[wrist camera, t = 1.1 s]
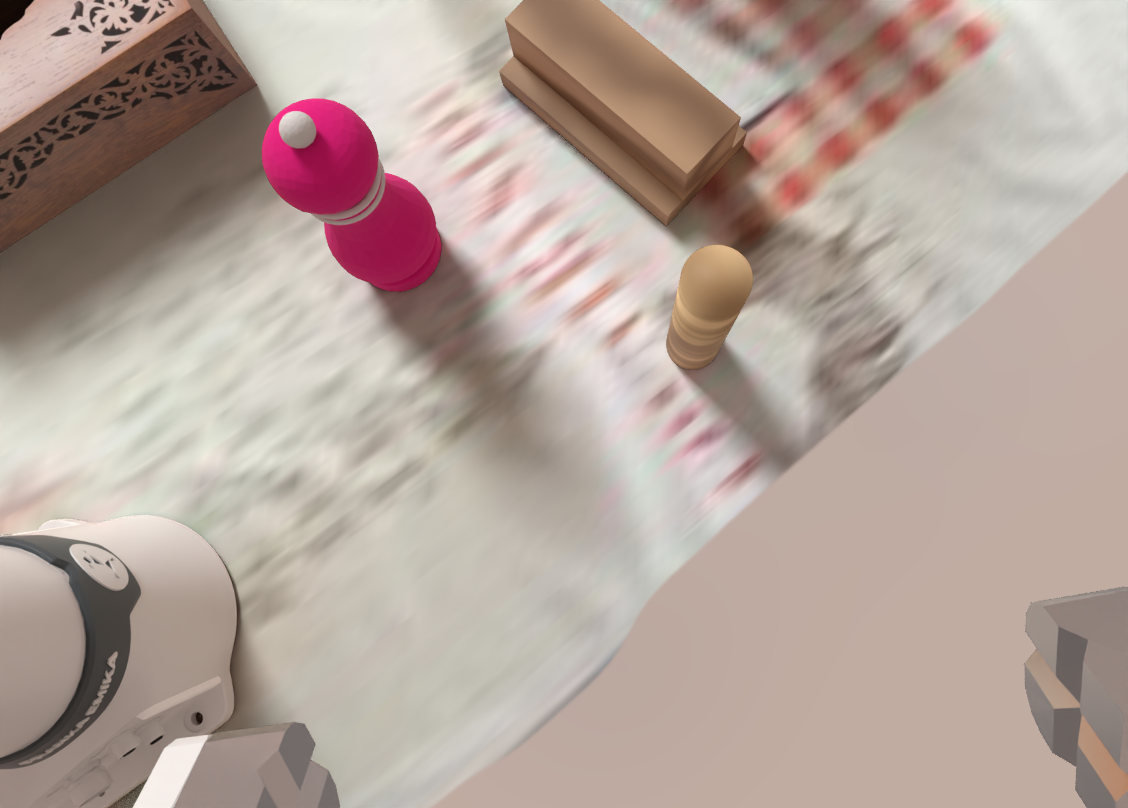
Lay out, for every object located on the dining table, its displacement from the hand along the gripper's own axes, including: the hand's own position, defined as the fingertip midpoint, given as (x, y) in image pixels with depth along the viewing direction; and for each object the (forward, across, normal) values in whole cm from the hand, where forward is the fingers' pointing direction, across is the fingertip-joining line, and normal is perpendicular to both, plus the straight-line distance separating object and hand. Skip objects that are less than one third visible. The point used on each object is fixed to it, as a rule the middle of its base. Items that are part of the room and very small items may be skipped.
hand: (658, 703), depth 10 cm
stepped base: (+57, +2, -2) cm, 57 cm away
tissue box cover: (+61, -38, +7) cm, 73 cm away
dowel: (+48, +4, -17) cm, 50 cm away
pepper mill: (+53, -15, -7) cm, 55 cm away
